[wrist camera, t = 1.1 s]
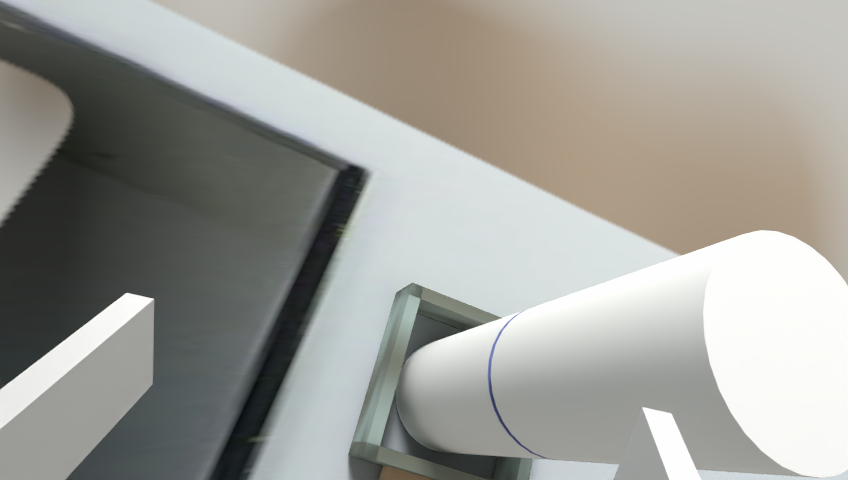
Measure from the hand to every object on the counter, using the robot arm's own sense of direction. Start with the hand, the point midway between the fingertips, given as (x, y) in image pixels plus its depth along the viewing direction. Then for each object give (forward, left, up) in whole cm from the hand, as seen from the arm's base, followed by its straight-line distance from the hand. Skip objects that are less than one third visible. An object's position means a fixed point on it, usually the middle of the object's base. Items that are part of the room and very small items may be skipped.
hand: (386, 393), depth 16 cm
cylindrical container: (+2, +11, -22) cm, 25 cm away
